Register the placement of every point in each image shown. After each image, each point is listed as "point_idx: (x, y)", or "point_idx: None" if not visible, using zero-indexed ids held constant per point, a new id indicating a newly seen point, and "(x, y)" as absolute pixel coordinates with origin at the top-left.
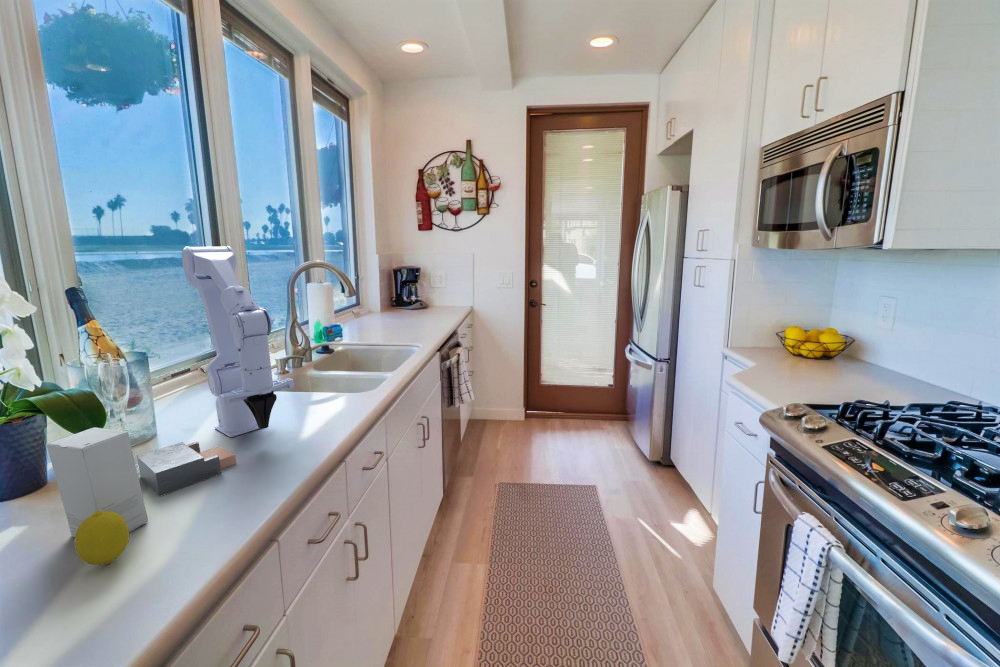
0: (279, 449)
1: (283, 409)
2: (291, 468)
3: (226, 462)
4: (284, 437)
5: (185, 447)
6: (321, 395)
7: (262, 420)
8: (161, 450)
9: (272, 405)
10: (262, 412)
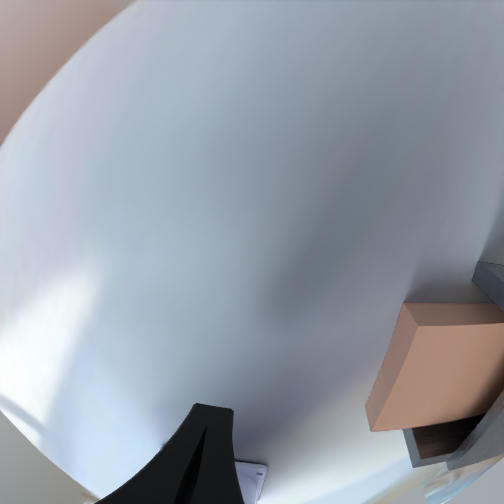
0: (212, 266)
1: (95, 459)
2: (304, 13)
3: (441, 314)
4: (142, 350)
5: (486, 435)
6: (23, 429)
7: (220, 449)
8: (501, 447)
9: (110, 502)
10: (205, 498)
